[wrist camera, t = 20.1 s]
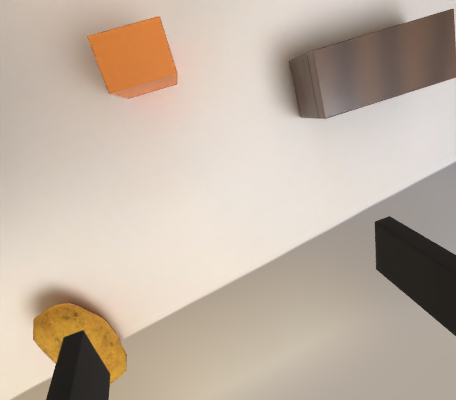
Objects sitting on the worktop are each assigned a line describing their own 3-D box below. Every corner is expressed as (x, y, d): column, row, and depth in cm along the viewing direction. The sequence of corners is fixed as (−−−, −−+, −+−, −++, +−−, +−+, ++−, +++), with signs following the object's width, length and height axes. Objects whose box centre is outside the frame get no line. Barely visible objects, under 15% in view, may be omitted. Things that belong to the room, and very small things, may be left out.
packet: (128, 98, 37) (109, 93, 26) (113, 58, 35) (86, 36, 25) (177, 84, 37) (177, 73, 27) (164, 43, 36) (159, 16, 25)
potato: (79, 277, 41) (67, 309, 35) (138, 342, 47) (137, 380, 40) (27, 308, 41) (6, 347, 35) (93, 370, 46) (85, 413, 40)
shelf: (300, 117, 41) (325, 118, 34) (289, 61, 38) (312, 50, 32) (412, 82, 42) (457, 77, 35) (407, 25, 40) (454, 8, 33)
